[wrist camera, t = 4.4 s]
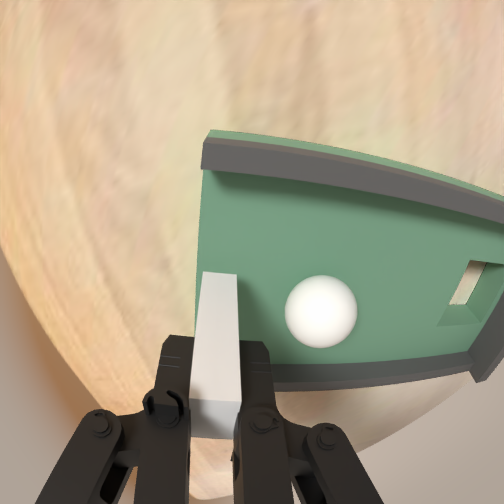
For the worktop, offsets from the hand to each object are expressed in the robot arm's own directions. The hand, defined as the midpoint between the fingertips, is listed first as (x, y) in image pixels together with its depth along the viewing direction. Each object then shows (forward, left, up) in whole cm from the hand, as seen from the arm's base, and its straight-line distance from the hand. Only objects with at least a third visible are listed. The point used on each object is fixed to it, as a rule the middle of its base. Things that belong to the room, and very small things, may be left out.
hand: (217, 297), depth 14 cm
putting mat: (0, +12, -4) cm, 12 cm away
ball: (0, +5, -1) cm, 5 cm away
